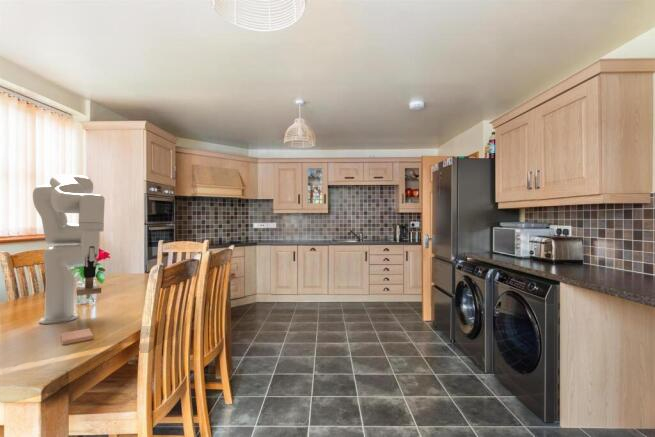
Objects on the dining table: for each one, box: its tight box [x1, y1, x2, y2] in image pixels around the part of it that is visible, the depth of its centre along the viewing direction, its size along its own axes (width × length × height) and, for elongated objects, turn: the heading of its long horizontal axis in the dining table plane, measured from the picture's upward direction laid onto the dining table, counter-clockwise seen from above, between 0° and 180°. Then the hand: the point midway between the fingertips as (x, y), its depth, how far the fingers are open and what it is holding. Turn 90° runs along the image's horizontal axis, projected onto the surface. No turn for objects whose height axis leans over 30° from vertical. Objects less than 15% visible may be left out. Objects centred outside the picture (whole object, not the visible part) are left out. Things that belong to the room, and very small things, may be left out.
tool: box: [76, 257, 102, 297], centre depth 116 cm, size 4×7×14 cm, turn 132°
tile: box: [60, 328, 94, 346], centre depth 109 cm, size 1×8×10 cm
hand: (89, 276), depth 116 cm, fingers closed on tool, 2 cm apart
